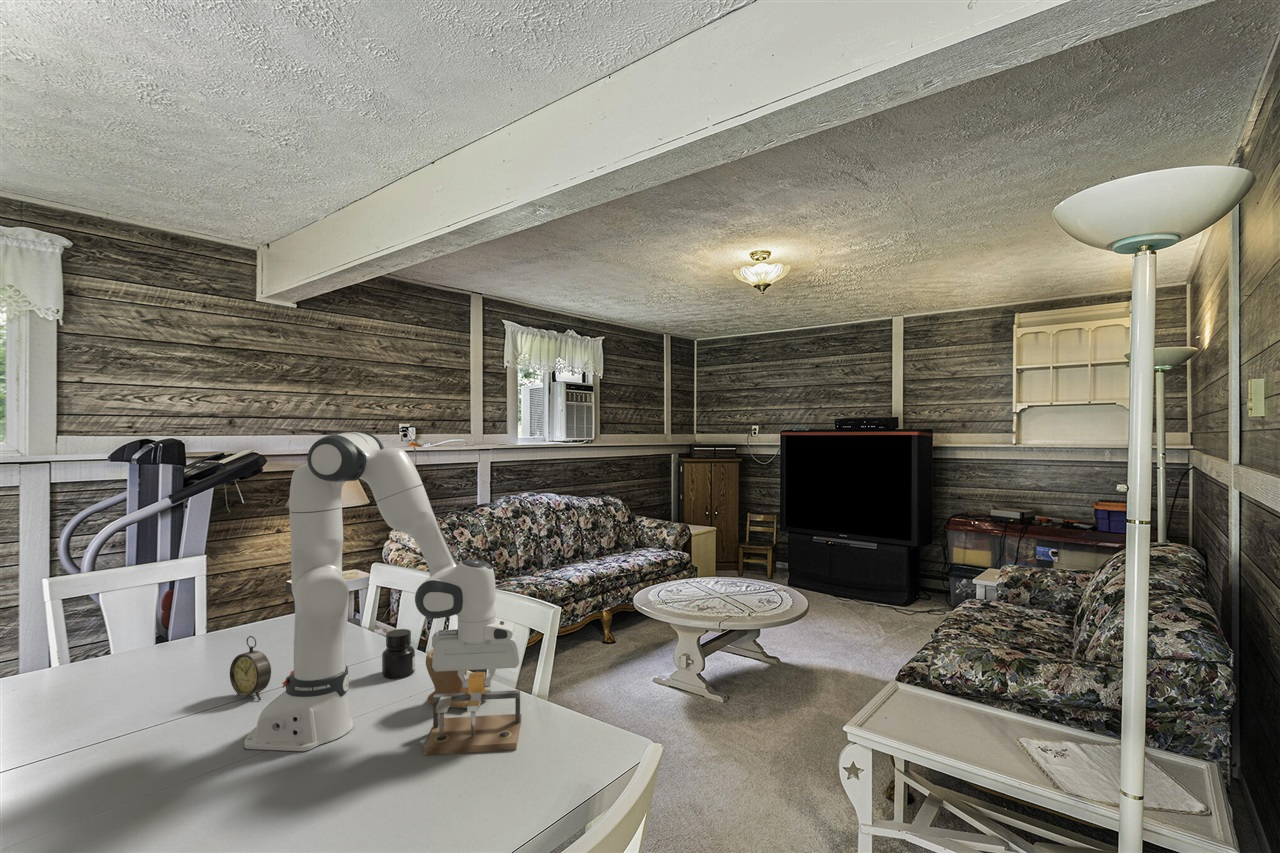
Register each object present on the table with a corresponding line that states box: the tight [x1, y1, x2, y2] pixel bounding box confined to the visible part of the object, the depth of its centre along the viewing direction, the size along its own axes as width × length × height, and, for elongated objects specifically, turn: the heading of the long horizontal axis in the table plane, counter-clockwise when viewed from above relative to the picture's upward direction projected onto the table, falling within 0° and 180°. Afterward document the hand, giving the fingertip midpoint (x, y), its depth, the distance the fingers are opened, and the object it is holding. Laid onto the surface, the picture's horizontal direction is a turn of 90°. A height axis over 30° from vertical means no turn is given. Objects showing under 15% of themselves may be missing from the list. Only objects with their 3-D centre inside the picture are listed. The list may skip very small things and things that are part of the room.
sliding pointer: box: [466, 671, 487, 736], centre depth 144 cm, size 4×8×11 cm, turn 6°
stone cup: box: [425, 648, 492, 709], centre depth 160 cm, size 15×12×15 cm
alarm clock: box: [229, 635, 272, 701], centre depth 165 cm, size 11×5×16 cm, turn 68°
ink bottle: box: [381, 628, 416, 680], centre depth 180 cm, size 10×9×12 cm
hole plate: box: [423, 689, 522, 756], centre depth 143 cm, size 20×14×9 cm
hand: (477, 686), depth 146 cm, fingers closed on sliding pointer, 3 cm apart
